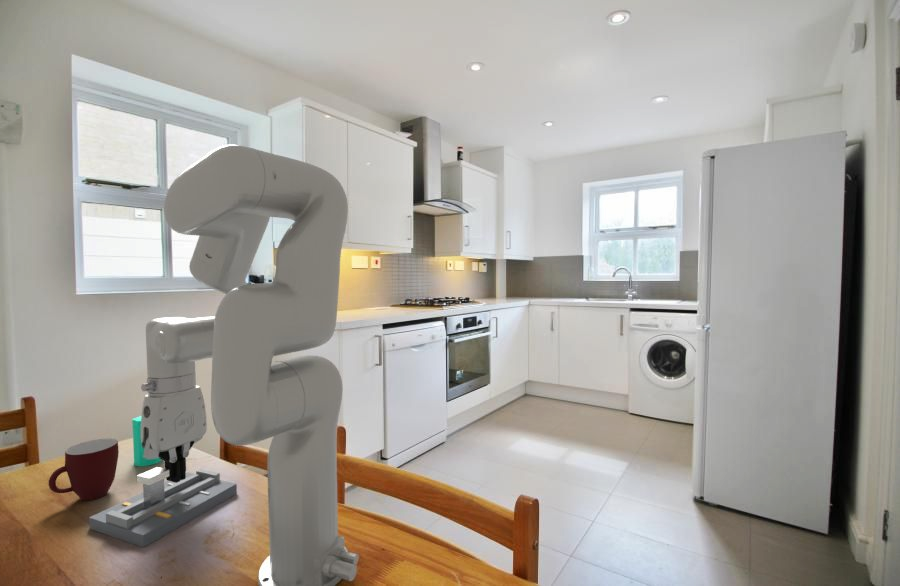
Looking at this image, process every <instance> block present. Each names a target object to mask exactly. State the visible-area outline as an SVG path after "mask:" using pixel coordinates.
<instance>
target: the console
mask: <svg viewBox="0 0 900 586" xmlns="http://www.w3.org/2000/svg"><path fill="white" fill-rule="evenodd" d="M220 475H221V474H220V473H219V472H216V471H210V470H207V469H202V468H200V469H198V470H196V472H195V473H192V472H189V471H188V472H186V478H185V479H184V480H180V481H179V482H177V483H176V482H172V481H168V480H166V481H164V493H165V500H164V501H162V502H160V503H158V504H156V505H154V506H152V507H150V508H146V507H144V496H143V492H141V493H138V494H136V495H135V496H132V497H131V498H128V499H126V500H124V501H122V502H120V503H117V504H115V505H113V506H111V507H109V508H107V509H105V510H102V511H100V512H98V513H96V514H93V515H92V516H89V517H88V523H89V525H88V526H89V527H88V528H89V530H92V531H95V532H98V533H101V534H104V535H107V536H109V537H112V538H114V539H118V540H120V541H124V542H127V543H129V544H132V545H134V546H135V545H136V546H139V547H141V548H145V547H147V546H148V545H150V544H152V543H154V542H156V541H157V540H158V539H161V538H162V537H164V536H166V535H168V534H170V533H171V532H173V531H174V530H176V529H179V528H180V527H181V526H183V525H185V524H187V523H189V522H190V521H192V520H193V519H196V518H197V517H199V516H200V515H203V514H204V513H206V512H207V511H209V510H212V508H214V507H216V506H218V505H221V504H222V503H223V502H225V501H226V500H228V499H230V498H232V497H233V496H235V495H236V494H238V492H237V491H238V490H237V489H238V487H237V483H235V482H230V481H227V480H222V479H221V476H220Z"/></svg>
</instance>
